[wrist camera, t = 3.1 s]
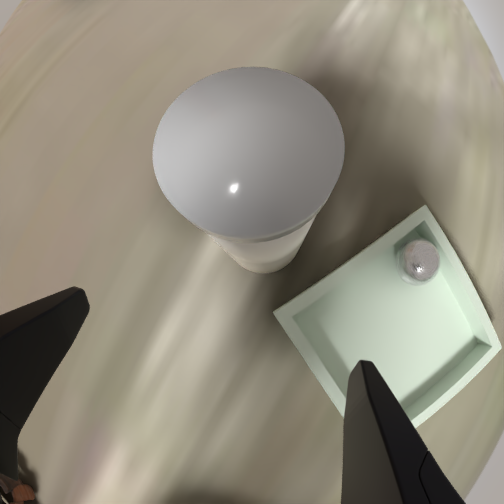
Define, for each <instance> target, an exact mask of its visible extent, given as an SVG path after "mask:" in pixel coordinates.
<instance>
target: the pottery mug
mask: <svg viewBox="0 0 504 504" xmlns="http://www.w3.org/2000/svg"><path fill="white" fill-rule="evenodd" d="M0 486H1V487H2V488H3V490H4V492H5V493H6V494H7V493H8V492H10V491H11V492H12V495H13V499H14V502H11V503H9V504H24V503H23V501H26V500H33V499H34V498H35V495H34V492H33V489H32V487H31V486H29V485H27V484H23V482H22V481H21V480H20V479H19V478H18V481H15V480H13V479H11V478H9V477H7V476H5V475H3V474H1V473H0ZM2 504H6V503H5V502H4V501H3V502H2Z"/></svg>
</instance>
